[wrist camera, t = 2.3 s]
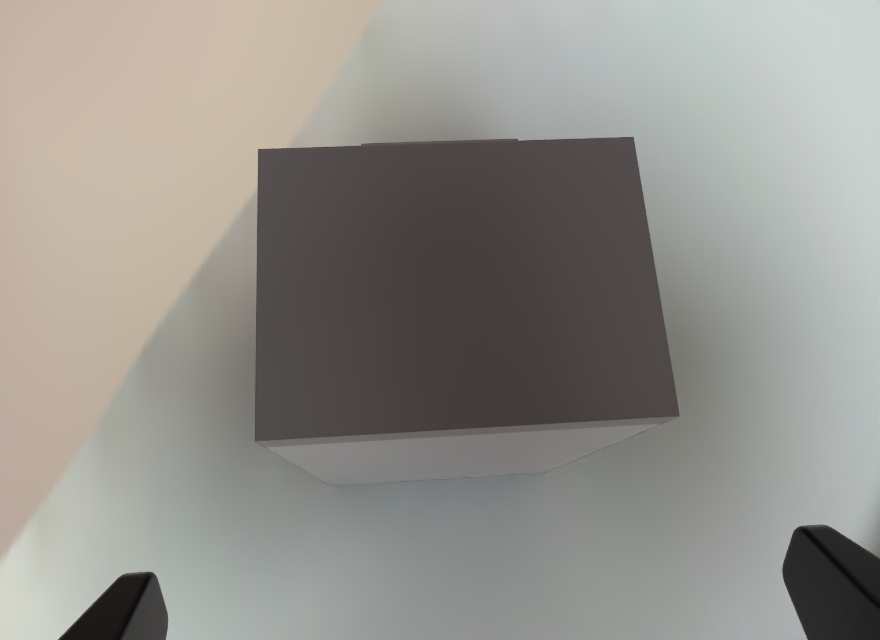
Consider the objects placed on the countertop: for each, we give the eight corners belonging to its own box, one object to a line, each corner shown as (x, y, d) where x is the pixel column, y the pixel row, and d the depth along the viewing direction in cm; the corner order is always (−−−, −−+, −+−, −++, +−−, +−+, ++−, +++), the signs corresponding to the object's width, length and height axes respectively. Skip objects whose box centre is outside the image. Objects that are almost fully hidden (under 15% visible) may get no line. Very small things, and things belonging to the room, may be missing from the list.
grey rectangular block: (545, 472, 21) (679, 416, 11) (330, 485, 21) (255, 441, 11) (525, 286, 23) (624, 84, 13) (326, 295, 23) (258, 94, 12)
